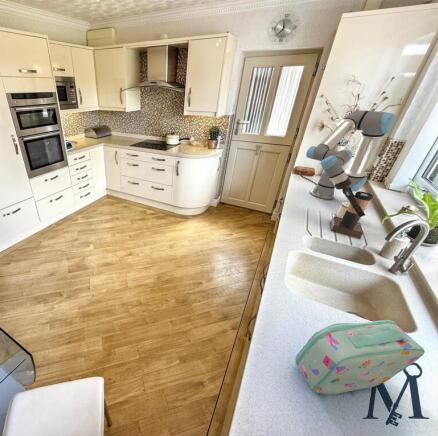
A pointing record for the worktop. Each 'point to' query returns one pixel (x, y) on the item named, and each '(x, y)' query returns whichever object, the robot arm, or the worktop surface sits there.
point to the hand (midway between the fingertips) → (361, 213)
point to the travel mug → (350, 214)
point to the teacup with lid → (342, 209)
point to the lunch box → (356, 356)
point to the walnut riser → (346, 228)
